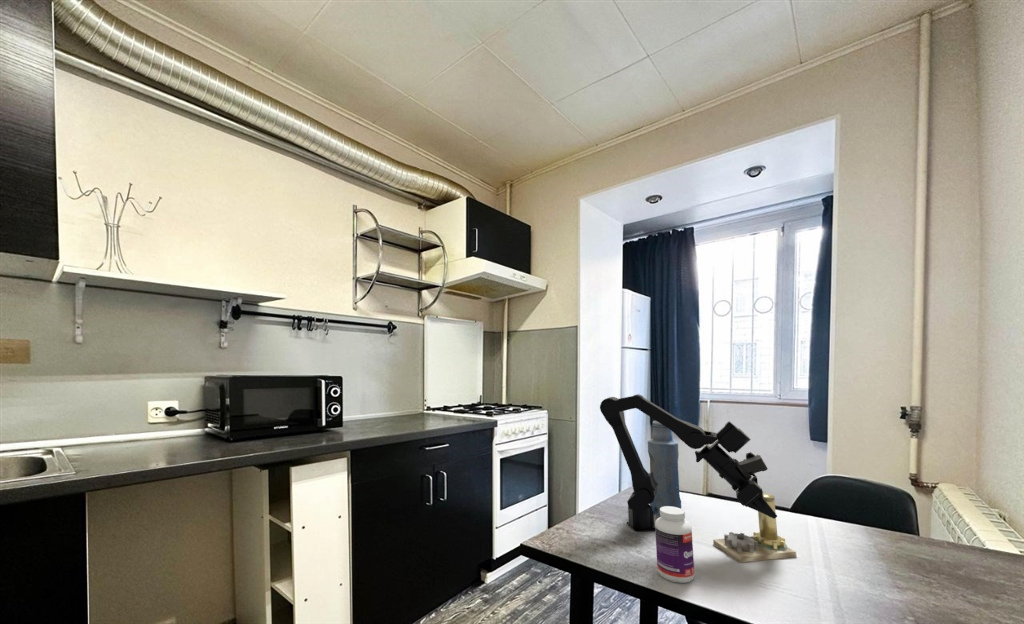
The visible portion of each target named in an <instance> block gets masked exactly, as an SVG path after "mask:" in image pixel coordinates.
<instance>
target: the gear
mask: <svg viewBox="0 0 1024 624" xmlns="http://www.w3.org/2000/svg"><path fill="white" fill-rule="evenodd" d="M763 498H764V499H765V501H766V502H767V503H768V504H769V506H770V507H771V508H772V509H773V511H774V512H775V513H776V514H777V512H776V503H775V502H776V501H775V496H774V495H773V494H770V493H765V492H763ZM757 516H758V526H759V532H757V531H754V532H753V535H752V536H753V537H754V538H755V541H758V543H759V544H760V545H761V546H762V547H770V548H773V549H777V548H786V546H785V545H787V544H786V538H785V537H783V536H779V535H778V527H777V526H778V525H777V517H776V518H775V519H774V518H772V517H769V516H767V515H765V514H763V513H761V512H759V511H757Z"/></svg>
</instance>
